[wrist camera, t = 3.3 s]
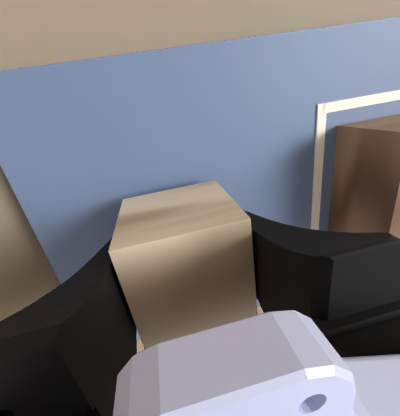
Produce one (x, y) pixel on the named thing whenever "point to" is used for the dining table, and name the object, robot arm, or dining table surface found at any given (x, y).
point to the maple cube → (184, 261)
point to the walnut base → (366, 177)
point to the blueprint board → (190, 128)
